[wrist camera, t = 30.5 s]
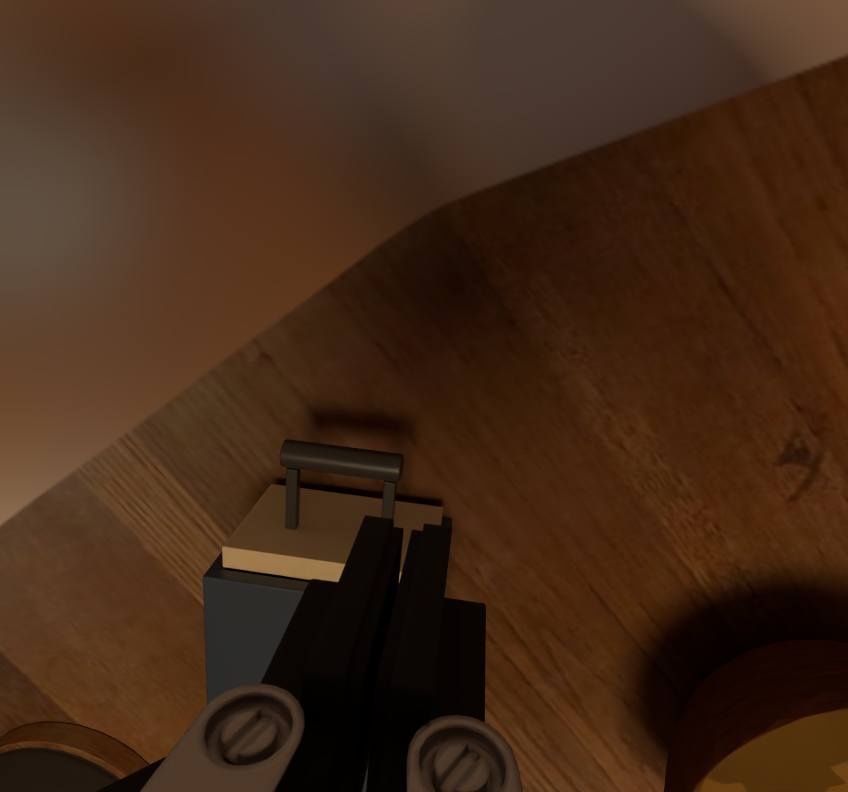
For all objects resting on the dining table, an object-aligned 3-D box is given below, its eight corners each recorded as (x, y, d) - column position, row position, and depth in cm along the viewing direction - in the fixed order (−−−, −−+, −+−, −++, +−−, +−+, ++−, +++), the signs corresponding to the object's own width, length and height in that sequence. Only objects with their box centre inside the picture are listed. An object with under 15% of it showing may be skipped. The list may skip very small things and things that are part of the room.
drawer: (271, 406, 34) (219, 455, 27) (452, 429, 33) (443, 485, 26) (269, 651, 39) (225, 739, 33) (424, 675, 38) (410, 770, 32)
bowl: (569, 673, 38) (596, 828, 29) (809, 510, 33) (937, 633, 24) (742, 830, 41) (819, 1019, 31) (990, 700, 36) (1172, 881, 26)
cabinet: (266, 493, 36) (202, 576, 28) (452, 518, 36) (441, 611, 27) (265, 667, 41) (209, 783, 33) (430, 693, 40) (415, 819, 32)
